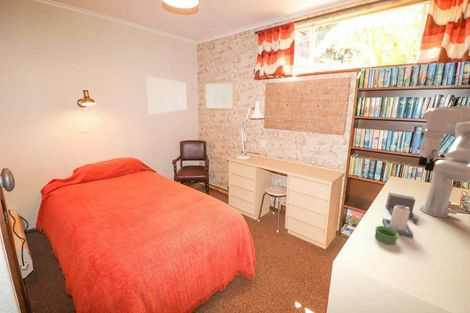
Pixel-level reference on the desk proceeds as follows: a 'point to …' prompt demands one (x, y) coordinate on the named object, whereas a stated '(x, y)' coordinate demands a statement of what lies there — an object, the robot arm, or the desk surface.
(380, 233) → the ramekin
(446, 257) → the desk surface
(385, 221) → the tray
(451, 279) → the desk surface
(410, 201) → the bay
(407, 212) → the can
